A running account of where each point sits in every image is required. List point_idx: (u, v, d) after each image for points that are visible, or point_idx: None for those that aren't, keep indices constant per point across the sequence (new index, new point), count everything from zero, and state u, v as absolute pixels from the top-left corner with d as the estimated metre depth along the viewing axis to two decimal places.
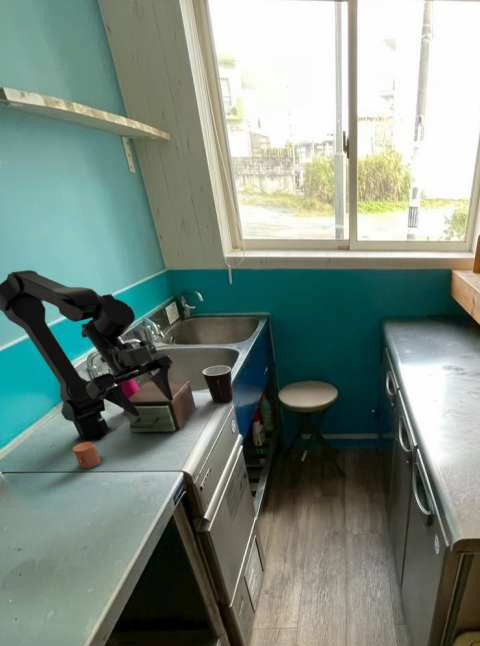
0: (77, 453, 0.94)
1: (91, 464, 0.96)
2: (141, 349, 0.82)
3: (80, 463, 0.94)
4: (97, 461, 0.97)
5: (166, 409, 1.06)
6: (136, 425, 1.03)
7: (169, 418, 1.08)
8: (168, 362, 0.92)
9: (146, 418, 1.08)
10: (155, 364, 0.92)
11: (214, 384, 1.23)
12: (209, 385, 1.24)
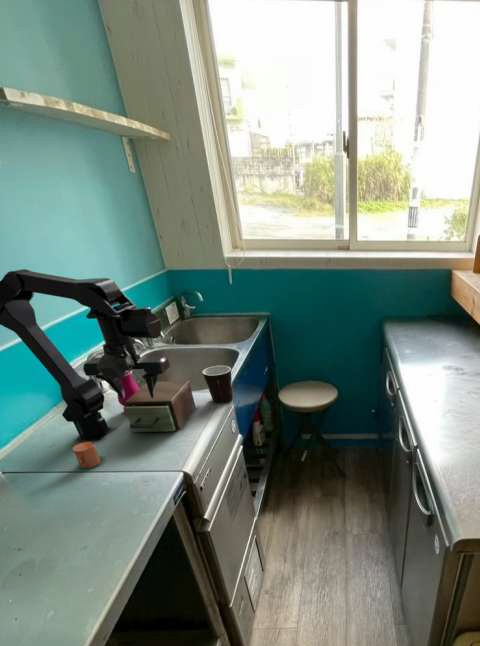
0: (77, 453, 0.94)
1: (91, 464, 0.96)
2: (107, 368, 0.89)
3: (80, 463, 0.94)
4: (97, 461, 0.97)
5: (166, 409, 1.06)
6: (136, 425, 1.03)
7: (169, 418, 1.08)
8: (154, 373, 0.96)
9: (146, 418, 1.08)
10: None
11: (214, 384, 1.23)
12: (209, 385, 1.24)
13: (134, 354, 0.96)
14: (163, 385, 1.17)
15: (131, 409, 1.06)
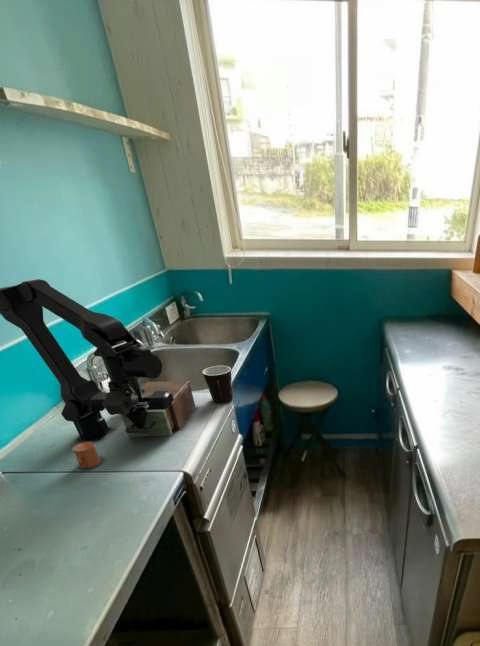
0: (77, 453, 0.94)
1: (91, 464, 0.96)
2: (113, 406, 0.91)
3: (80, 463, 0.94)
4: (97, 461, 0.97)
5: (162, 413, 1.04)
6: (132, 430, 1.01)
7: (166, 422, 1.06)
8: (159, 408, 0.97)
9: None
10: None
11: (214, 384, 1.23)
12: (209, 385, 1.24)
13: (138, 390, 0.97)
14: (163, 385, 1.17)
15: None
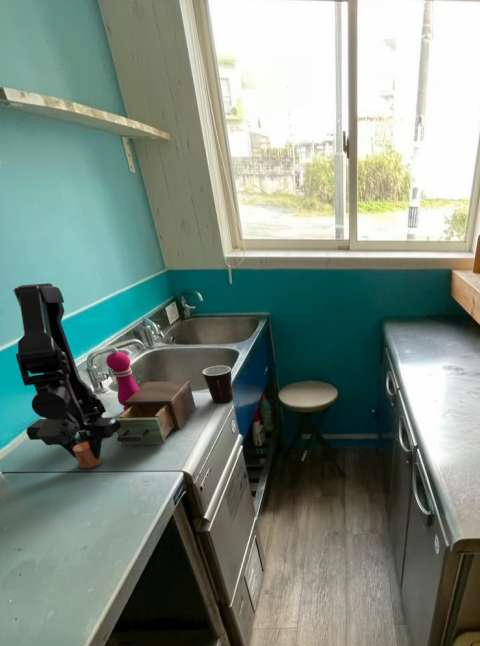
0: (77, 453, 0.94)
1: (91, 464, 0.96)
2: (48, 437, 0.84)
3: (80, 463, 0.94)
4: (97, 461, 0.97)
5: (156, 421, 1.00)
6: (124, 439, 0.98)
7: (159, 430, 1.02)
8: (102, 437, 0.91)
9: (134, 431, 1.02)
10: None
11: (214, 384, 1.23)
12: (209, 385, 1.24)
13: (81, 417, 0.91)
14: (163, 385, 1.17)
15: None
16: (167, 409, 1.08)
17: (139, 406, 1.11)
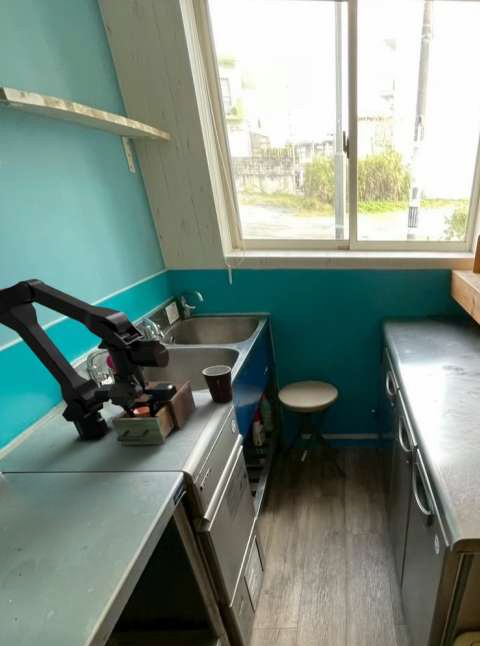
0: (138, 416, 1.03)
1: None
2: (118, 397, 0.93)
3: None
4: None
5: (156, 421, 1.00)
6: (124, 439, 0.98)
7: (159, 430, 1.02)
8: (162, 400, 0.99)
9: (134, 431, 1.02)
10: None
11: (214, 384, 1.23)
12: (209, 385, 1.24)
13: (143, 381, 1.00)
14: None
15: (118, 421, 1.00)
16: (167, 409, 1.08)
17: (139, 406, 1.11)
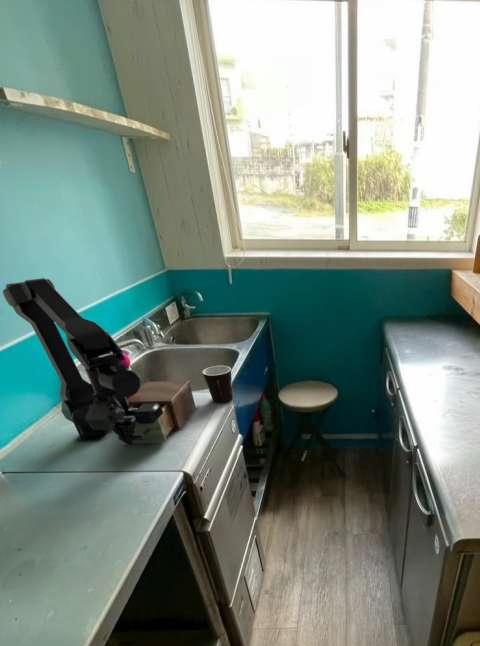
0: None
1: None
2: (96, 421, 0.85)
3: None
4: None
5: (157, 420, 1.01)
6: None
7: (160, 429, 1.03)
8: (146, 422, 0.91)
9: (136, 429, 1.02)
10: None
11: (214, 384, 1.23)
12: (209, 385, 1.24)
13: (125, 402, 0.92)
14: (163, 385, 1.17)
15: None
16: (168, 407, 1.08)
17: (140, 405, 1.11)
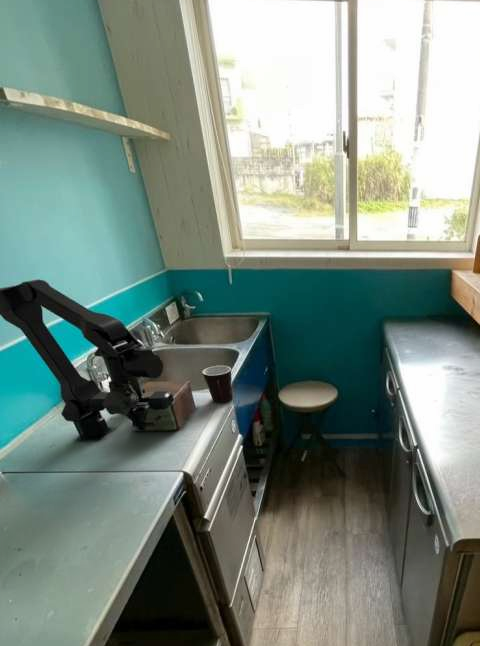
0: None
1: None
2: (113, 406, 0.91)
3: None
4: None
5: None
6: None
7: (170, 416, 1.09)
8: (158, 408, 0.97)
9: (147, 417, 1.08)
10: None
11: (214, 384, 1.23)
12: (209, 385, 1.24)
13: (139, 390, 0.98)
14: (163, 385, 1.17)
15: None
16: None
17: None
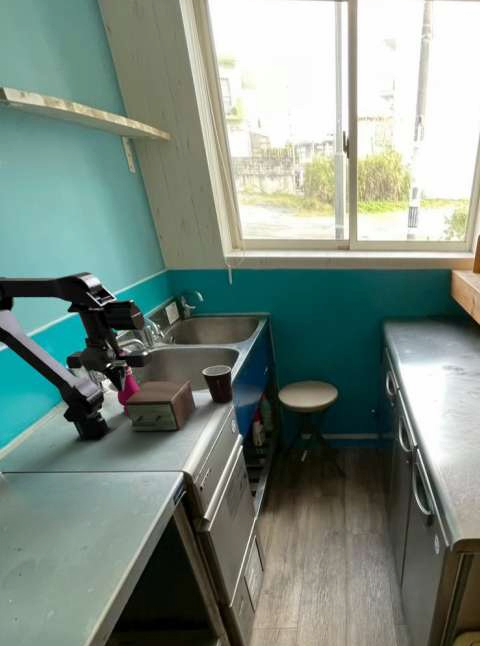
0: None
1: None
2: (89, 361, 0.90)
3: None
4: None
5: (167, 407, 1.07)
6: (138, 424, 1.04)
7: (170, 416, 1.09)
8: (136, 366, 0.97)
9: (147, 417, 1.08)
10: None
11: (214, 384, 1.23)
12: (209, 385, 1.24)
13: (116, 347, 0.97)
14: (163, 385, 1.17)
15: (133, 407, 1.07)
16: None
17: None
